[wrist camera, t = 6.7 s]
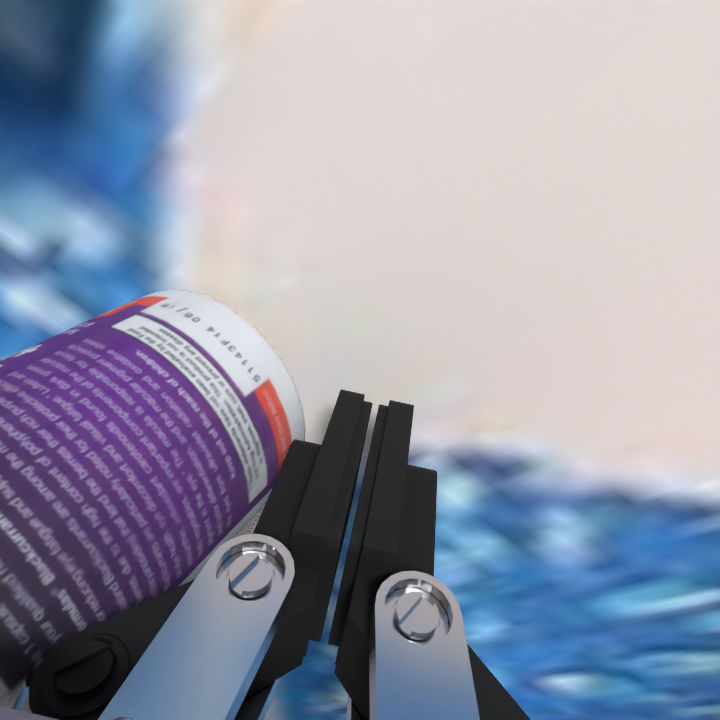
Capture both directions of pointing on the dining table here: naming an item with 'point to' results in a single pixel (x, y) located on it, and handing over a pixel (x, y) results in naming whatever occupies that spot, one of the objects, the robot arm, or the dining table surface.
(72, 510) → the pill bottle
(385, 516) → the robot arm
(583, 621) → the dining table surface
